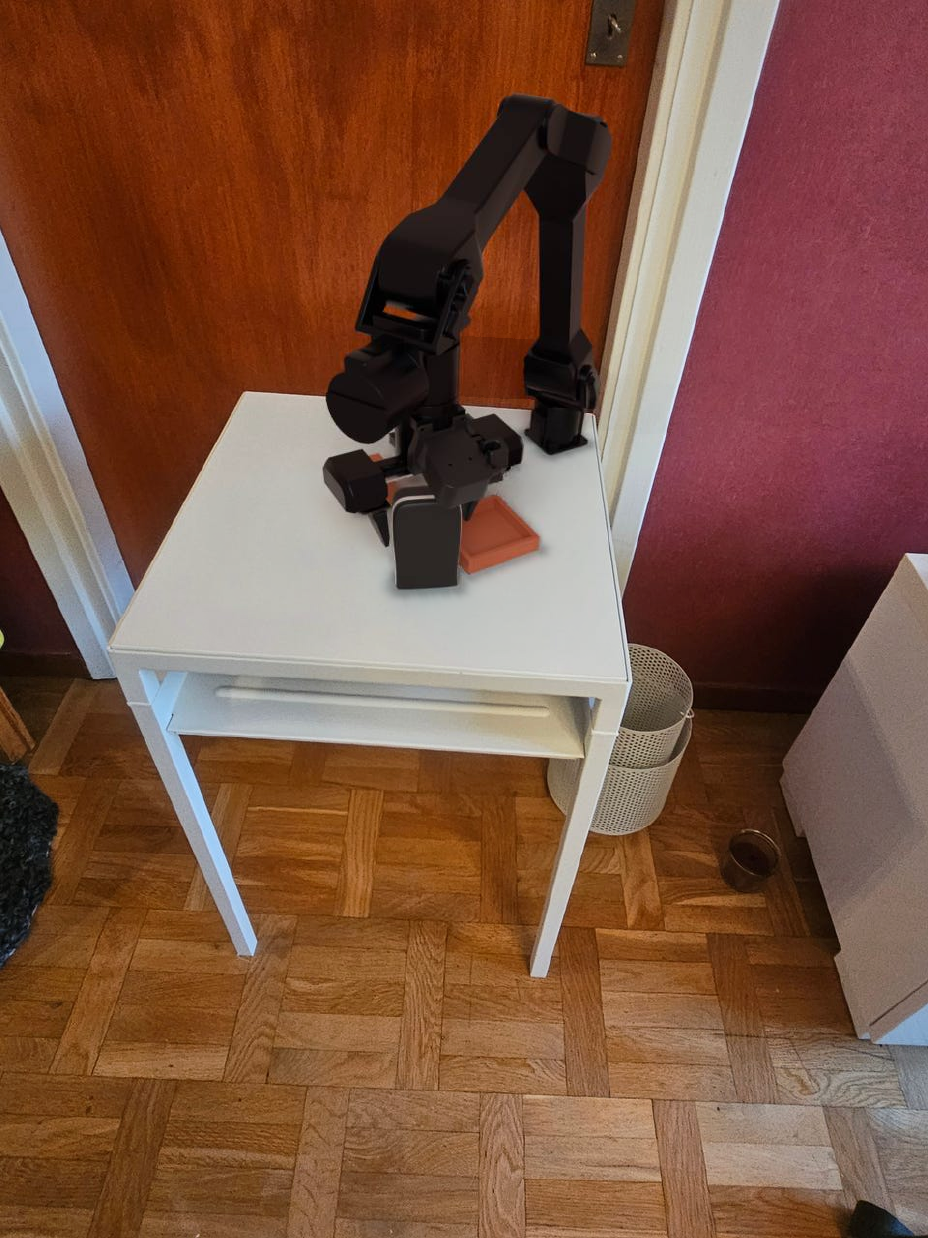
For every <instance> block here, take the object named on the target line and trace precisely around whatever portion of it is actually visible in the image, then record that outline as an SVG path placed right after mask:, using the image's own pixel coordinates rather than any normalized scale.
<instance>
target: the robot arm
mask: <svg viewBox="0 0 928 1238" xmlns="http://www.w3.org/2000/svg"><path fill="white" fill-rule="evenodd" d="M612 144H613V139H612V134H611V132H610V130H609V125H608V122H607V121H604V119H603V117H602V116H601V115H597V114H591V113H584V112H578V111H573V110H571V109H568V108H567V107H566V106H565V105H564V104H562V103H558V101H556V99H555V98H551V97H544V96H543V97H542V96H540V95H539V96H537V95H531V94H525V93H518V92H515V93H512V94H511V95H505V96H504V97H503V98H502V99H501V101H500V103H499V105H498V108H497V112H496V117H495V120H494V122H492V124H491V126H490V127H489V129H488V130H487V131H486V133H485V134H484V136H483V137H482V138H481V140H480V141H479V142H478V144H477V145H476V147H474V150H473V151H472V152H471V154H470V155H469V157H468V158H467V160H466V161H465V162H464V164H463V165H462V167H461V168H460V169H459V171H458V173H457V174H456V175H455V177H454V178H453V180H451V182H450V183H449V185H448V186H447V188H446V189H445V191H444V192H443V193H442V195H441V196H440V197H439V199H437V201H436V202H433V204H431V205H427V206H425V207H423V208H421V209H417V210H416V211H413V212H410V213H409V214H407V215H406V216H405V217H404V218H403V219H402V220H401V221H400V222H399V223H398V224H397V225H396V226H395V227H393V229H392V230H391V231H390V232H389V233H388V234H387V235H386V236H385V238H384V239H383V241H382V243H381V245H380V246H379V248H378V249H377V252H376V254H375V257H374V260H373V264H372V267H371V270H370V274H369V277H368V281H367V283H366V287H365V291H364V294H363V297H362V301H361V303H360V306H359V309H358V313H357V317H356V320H355V324H354V331H355V332H356V333H359V334H362V335H366V336H369V337H370V342H368V343H367V344H366V345H364V346H362V347H361V348H358V349H355V350H352V351H351V352H349V353H347V354H346V355H344V358H343V365H344V369H343V370H341V371H340V372H339V373H337V374H336V375H334V376H333V377H332V378H331V379H330V381H329V383H328V384H327V385H328V386H327V391H326V392H325V402H326V408H327V411H328V413H329V415H330V418H331V419H332V421H333V423H334V424H335V426H336V427H337V428H338V429H339V431H340V432H341V433H343V434H344V435H345V436H346V437H347V438H349V439H351V440H352V441H354V442H356V443H359V444H363V445H372V444H375V443H377V442H379V441H381V440H382V439H383V438H385V437H386V436H387V435H388V440H389V441H388V442H389V444H390V445H391V446H392V447H393V448H394V451H395V453H394V454H395V455H394V456H391V457H387V458H383V460H380V461H376V462H373V460H372V459H371V458H370V457H369V454H368V453H367V452H366V451H365V449H363V448H359V449H355V450H351V451H347V452H344V453H340V454H336V455H333V456H329V457H327V458H326V460H325V461H324V463H323V465H322V468H321V469H322V478H323V483H324V485H325V486H326V487H327V488H328V490H329V491H330V493H331V494H332V495H333V496H334V498H335V499H336V500H337V502H338V503H339V504H340V506H341V507H342V508H343V510H344V511H345V512H346V513H348V514H349V513H350V514H359V515H361V516H367V518H368V519H369V522H370V523H371V525H372V527H373V529H374V531H375V533H376V534H377V537H378V538H379V540H380V542H381V544H382V545H383V546H384V547H385V548H388V547H390V541H391V540H390V539H391V535H390V526H389V519H388V511H389V510H390V508H392V504H390V503H389V502H388V501H387V500H386V498H387V497H388V486H387V483H390V482H394V481H395V482H397V481H401V480H404V479H406V478H407V479H408V478H410V477H415V476H419V475H421V476H422V477H423V479H424V481H425V482H426V484H427V485H428V486H429V488H430V490H431V491H432V493H433V495H434V497H435V500H436V502H437V504H438V505H439V506H440V507H442V508H445V509H452V508H455V507H457V506H458V505H461V510H462V518H463V519H464V520H465V521H469V520H470V518H471V516H472V514H473V512H474V510H475V508H476V506H477V504H478V502H479V500H480V499H483V498H485V496H486V493H487V491H488V488H489V486H490V485H494V484H497V483H500V482H501V483H502V482H503V480H504V476H505V474H506V473H508V472H510V471H511V469H512V467H514V466H518V465H520V464H522V462H523V460H524V450H525V444H524V441H523V438H522V436H521V435H520V434H519V433H517V431H515V430H514V429H513V428H512V427H511V426H509V424H508V423H506V422H505V421H504V420H503V419H502V418H500V417H499V416H498V415H497V414H496V413H491V414H490V413H489V414H486V415H483V416H479V417H475V418H474V419H472V420H468V421H467V416H466V413H467V412H466V411H467V409H466V408H465V407H464V406H463V405H462V404H460V403H459V397H460V392H459V391H460V363H461V362H460V359H461V337H462V336H461V332H462V331H463V330H465V329H467V328H468V327H469V326H471V324H472V317H471V316H470V311H471V308H472V306H473V304H474V302H475V299H476V297H477V296H478V293H479V288H480V285H481V283H482V282H483V279H484V276H485V275H484V273H485V272H484V261H483V259H484V258H483V253H484V251H485V249H486V247H487V245H488V243H489V242H490V240H491V238H492V236H494V234H495V233H496V231H497V230H498V228H499V226H500V225H501V223H502V222H503V221H504V219H505V217H506V216H507V214H508V213H509V211H510V210H511V208H512V207H513V205H514V204H515V202H516V201H517V199H518V197H519V196H520V194H521V193H522V191H524V193H525V195H526V196H527V198H528V200H529V201H530V203H531V205H532V207H533V208H534V209H535V211H536V213H537V216H538V314H539V315H538V320H539V321H538V325H539V326H538V327H539V328H538V330H539V331H538V336H537V338H536V339H535V341H534V342H533V343H532V345H531V346H530V347H529V349H528V350H527V352H526V354H525V356H524V357H523V358H522V359H523V368H522V373H523V374H522V376H523V378H522V379H523V381H522V382H523V385H524V396H526V397H531V398H534V402H533V403H534V404H533V408H531V411H530V418H529V427H528V428H525V429H524V430H523V434H524V436H526V437H527V438H528V439H529V440H531V441H532V442H533V443H534V444H535V445H536V446H538V447H539V449H541V450H542V451H543V452H545V453H546V454H547V455H549V456H554V455H556V454H557V455H558V454H560V453H563V452H566V451H570V450H574V449H576V448H577V449H578V448H579V447H583V446H586V445H588V443H589V440H588V439H587V437H585V436H584V435H582V433H583V432H582V431H583V425H584V420H585V414H586V412H587V411H588V410H595V409H596V408H597V406H598V401H599V396H600V394H601V387H602V380H601V378H600V375H599V373H598V371H597V368H596V367H595V366H594V346H593V344H592V343H591V340H590V339H589V338H588V336H587V335H586V333H585V332H584V330H583V328H582V305H583V304H582V303H583V282H584V281H583V280H584V262H585V261H584V260H585V241H586V239H585V238H586V223H587V222H586V219H587V204H588V203H589V201H590V200H591V199H592V197H593V196H594V194H595V193H596V191H597V189H598V187H599V186H600V184H601V183H602V182H603V180H604V178H605V173H606V169H607V167H608V164H609V161H610V157H611V153H612ZM386 306H388V307H390V308H394V309H398V310H401V311H405V312H408V313H413V314H415V316H413V317H412V318H411V319H410V318H407V317H403V316H400V315H396V314H393V313H389V312H386V311H384V310H385V308H386ZM393 430H394V431H393ZM503 475H504V476H503Z"/></svg>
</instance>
